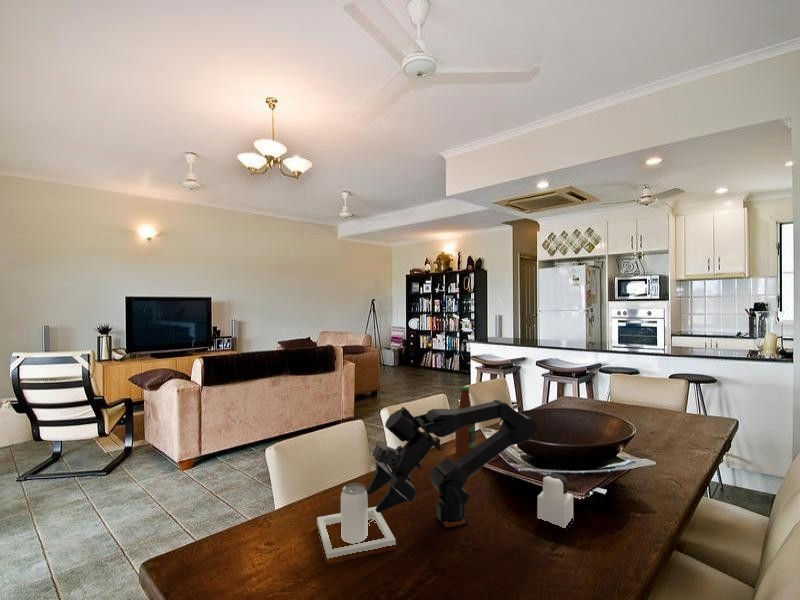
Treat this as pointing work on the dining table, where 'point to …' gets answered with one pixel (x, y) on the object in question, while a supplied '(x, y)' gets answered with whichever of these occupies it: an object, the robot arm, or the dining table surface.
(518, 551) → the dining table surface
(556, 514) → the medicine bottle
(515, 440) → the robot arm
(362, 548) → the tray
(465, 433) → the bottle
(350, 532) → the can
